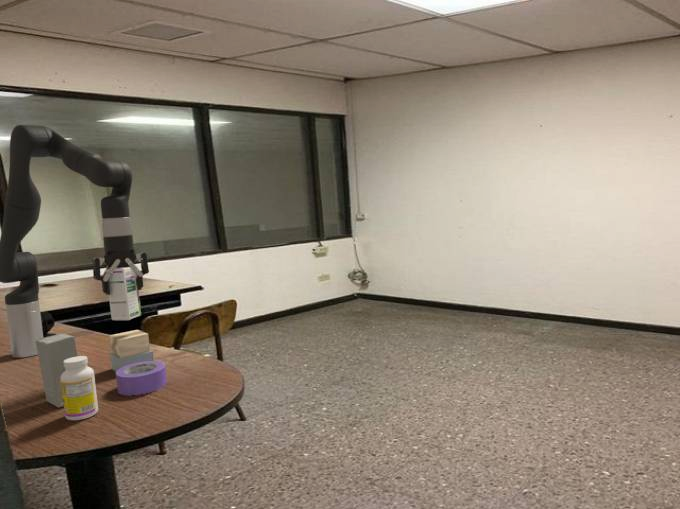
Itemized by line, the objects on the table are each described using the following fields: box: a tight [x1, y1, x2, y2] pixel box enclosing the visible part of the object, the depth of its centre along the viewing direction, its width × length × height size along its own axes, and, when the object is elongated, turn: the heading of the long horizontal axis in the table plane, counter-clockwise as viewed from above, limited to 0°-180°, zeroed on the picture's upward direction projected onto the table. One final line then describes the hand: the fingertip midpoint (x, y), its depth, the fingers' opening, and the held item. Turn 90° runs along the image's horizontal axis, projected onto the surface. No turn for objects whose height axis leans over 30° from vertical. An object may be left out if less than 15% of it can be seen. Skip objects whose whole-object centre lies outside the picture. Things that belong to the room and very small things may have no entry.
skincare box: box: [36, 332, 79, 408], centre depth 123 cm, size 8×7×16 cm
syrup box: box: [105, 267, 142, 321], centre depth 144 cm, size 6×6×14 cm
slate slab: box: [109, 349, 155, 373], centre depth 146 cm, size 9×9×5 cm
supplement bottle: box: [60, 355, 99, 421], centre depth 113 cm, size 7×7×13 cm
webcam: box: [40, 311, 58, 338], centre depth 186 cm, size 8×8×10 cm
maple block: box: [109, 329, 151, 358], centre depth 145 cm, size 8×8×5 cm
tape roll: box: [115, 360, 168, 397], centre depth 130 cm, size 12×12×5 cm
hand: (123, 292), depth 144 cm, fingers closed on syrup box, 8 cm apart
